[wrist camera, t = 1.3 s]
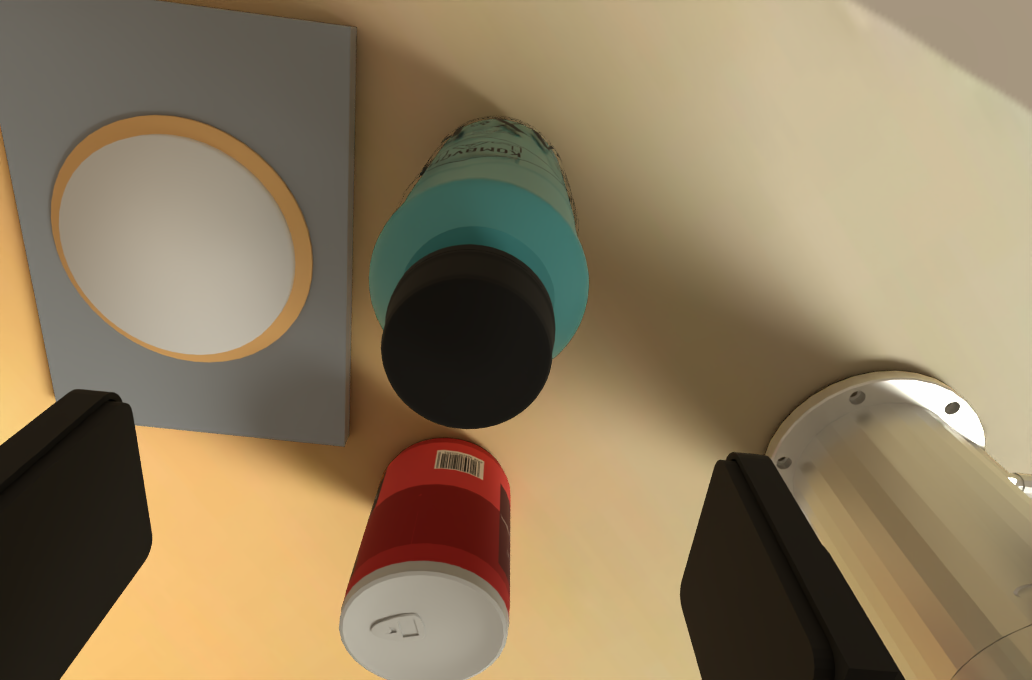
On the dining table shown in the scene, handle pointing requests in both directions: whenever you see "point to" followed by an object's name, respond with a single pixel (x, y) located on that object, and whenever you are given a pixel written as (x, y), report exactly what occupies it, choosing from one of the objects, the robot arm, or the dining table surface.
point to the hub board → (187, 208)
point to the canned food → (432, 567)
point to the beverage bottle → (479, 277)
